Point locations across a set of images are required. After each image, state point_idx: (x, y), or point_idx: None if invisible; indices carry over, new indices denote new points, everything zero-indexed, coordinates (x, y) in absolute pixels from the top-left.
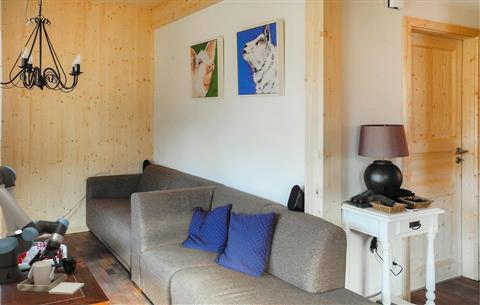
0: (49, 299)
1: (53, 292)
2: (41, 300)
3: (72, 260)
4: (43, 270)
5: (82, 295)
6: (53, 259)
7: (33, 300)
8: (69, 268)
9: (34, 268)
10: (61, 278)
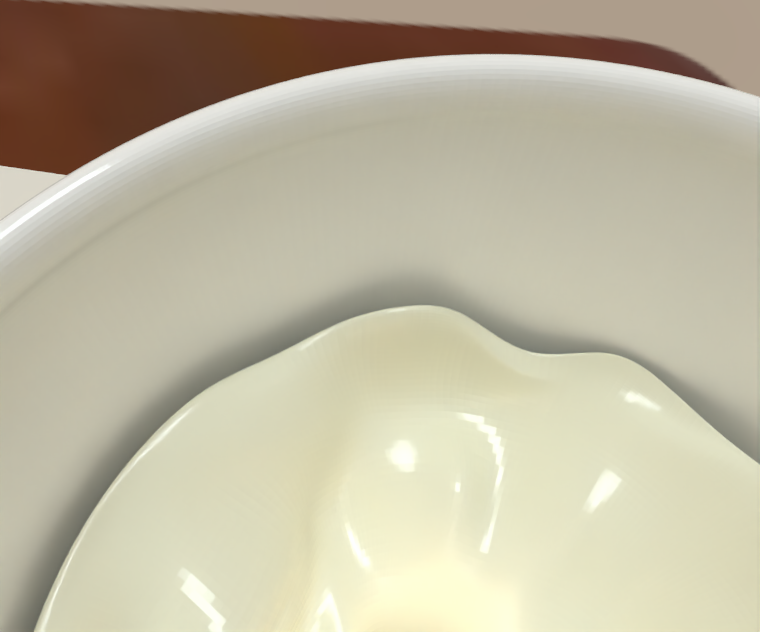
0: (41, 23)
1: (4, 175)
2: (153, 7)
3: None
4: (260, 278)
5: None
6: None
7: (271, 15)
8: None
9: (746, 220)
10: None
